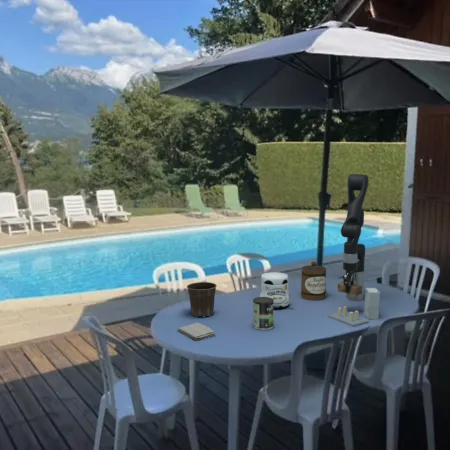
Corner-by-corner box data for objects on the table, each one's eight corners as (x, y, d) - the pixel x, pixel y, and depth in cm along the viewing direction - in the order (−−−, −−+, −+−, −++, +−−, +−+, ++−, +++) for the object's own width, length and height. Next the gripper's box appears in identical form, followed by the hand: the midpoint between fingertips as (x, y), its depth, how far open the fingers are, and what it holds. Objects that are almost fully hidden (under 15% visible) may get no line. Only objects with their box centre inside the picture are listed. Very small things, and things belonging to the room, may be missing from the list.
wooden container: (306, 301, 290) (307, 265, 287) (297, 294, 304) (297, 259, 301) (330, 299, 294) (330, 263, 290) (319, 292, 308) (320, 258, 305)
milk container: (275, 312, 271) (275, 281, 268) (253, 305, 284) (253, 275, 281) (296, 306, 282) (296, 275, 280) (274, 299, 295) (274, 270, 292)
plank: (337, 291, 272) (337, 284, 271) (342, 289, 275) (342, 282, 275) (357, 295, 264) (357, 288, 263) (362, 293, 267) (362, 286, 267)
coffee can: (276, 325, 252) (277, 298, 250) (267, 331, 243) (267, 303, 241) (259, 321, 257) (259, 295, 255) (249, 327, 248) (249, 300, 246)
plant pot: (181, 314, 270) (180, 286, 268) (202, 307, 282) (201, 280, 279) (202, 321, 259) (201, 291, 257) (223, 313, 271) (222, 285, 268)
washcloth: (196, 342, 231) (196, 336, 231) (176, 332, 245) (176, 326, 245) (217, 336, 238) (216, 330, 238) (196, 326, 252) (196, 320, 252)
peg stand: (328, 316, 263) (328, 306, 262) (343, 313, 269) (343, 303, 268) (352, 326, 248) (353, 316, 247) (368, 322, 253) (368, 312, 252)
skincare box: (363, 314, 267) (364, 287, 265) (374, 313, 267) (375, 287, 264) (368, 319, 258) (368, 291, 256) (379, 319, 258) (380, 291, 256)
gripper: (352, 264, 259) (351, 295, 262) (361, 259, 270) (360, 288, 273) (338, 262, 263) (338, 293, 266) (348, 257, 275) (347, 286, 277)
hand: (349, 290), depth 270 cm, fingers closed on plank, 5 cm apart
